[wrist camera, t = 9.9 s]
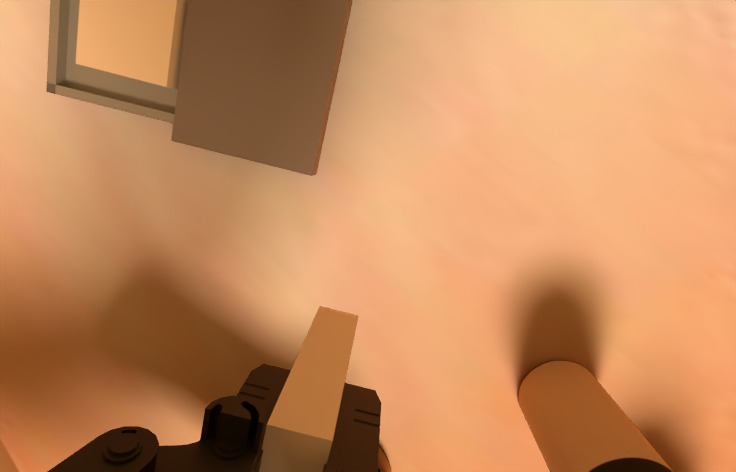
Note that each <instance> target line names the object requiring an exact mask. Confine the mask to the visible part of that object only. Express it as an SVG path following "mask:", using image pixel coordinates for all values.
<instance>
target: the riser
mask: <svg viewBox="0 0 736 472" xmlns="http://www.w3.org/2000/svg"><path fill="white" fill-rule="evenodd" d="M351 5H352V0H188V7H187V15H186V23H185V32H184V40H183V49H182V57H181V65H180V74H179V82H178V90H177V99H176V107H175V116H174V124H173V132H172V141H175V142H179V143H183V144H187V145H191V146H195V147H199V148H203V149H207V150H211V151H215V152H219V153H223V154H227V155H231V156H235V157H239V158H243V159H247V160H251V161H255V162H259V163H263V164H267V165H271V166H275V167H279V168H283V169H287V170H291V171H295V172H299V173H303V174H307V175H311V176H313V175H315V174H316V173H317V168H318V163H319V158H320V153H321V149H322V144H323V139H324V134H325V129H326V125H327V120H328V115H329V110H330V105H331V101H332V96H333V91H334V86H335V81H336V77H337V72H338V67H339V62H340V58H341V53H342V48H343V43H344V38H345V34H346V29H347V24H348V19H349V14H350V10H351Z"/></svg>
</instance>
